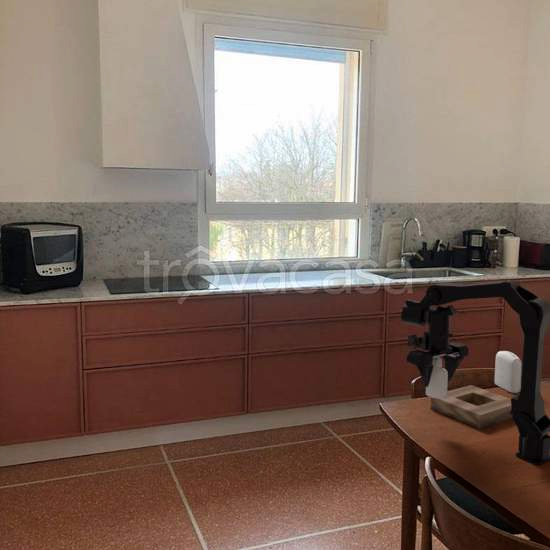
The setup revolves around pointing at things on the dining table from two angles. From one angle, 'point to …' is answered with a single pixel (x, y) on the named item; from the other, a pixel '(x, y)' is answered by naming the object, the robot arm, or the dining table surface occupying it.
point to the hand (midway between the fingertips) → (436, 383)
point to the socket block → (474, 406)
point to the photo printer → (508, 371)
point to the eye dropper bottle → (438, 381)
